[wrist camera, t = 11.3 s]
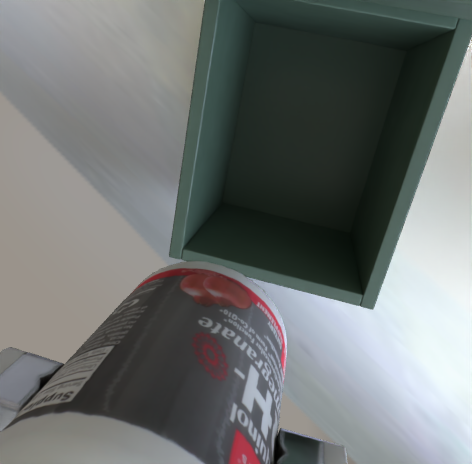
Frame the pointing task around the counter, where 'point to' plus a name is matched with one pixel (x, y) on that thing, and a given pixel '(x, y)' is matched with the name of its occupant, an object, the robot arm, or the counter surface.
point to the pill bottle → (165, 379)
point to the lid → (433, 6)
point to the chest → (311, 138)
